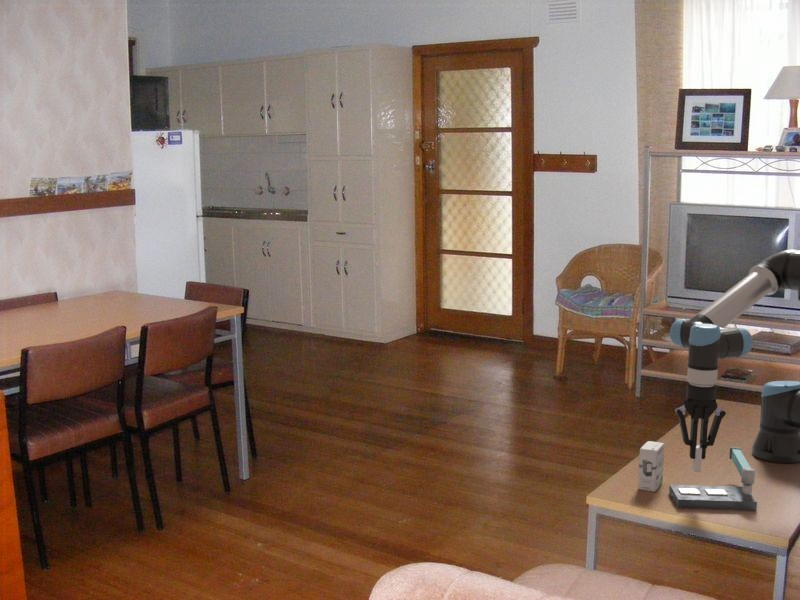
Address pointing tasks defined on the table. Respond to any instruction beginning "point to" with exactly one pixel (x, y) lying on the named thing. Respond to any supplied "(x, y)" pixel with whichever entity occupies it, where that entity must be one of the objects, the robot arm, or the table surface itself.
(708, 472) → the table surface
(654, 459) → the ink box
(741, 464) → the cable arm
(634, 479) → the table surface
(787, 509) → the table surface
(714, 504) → the plate
